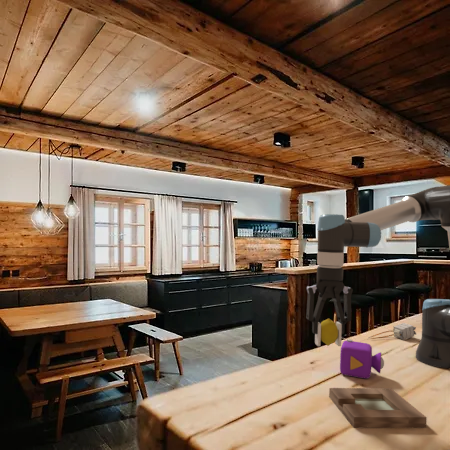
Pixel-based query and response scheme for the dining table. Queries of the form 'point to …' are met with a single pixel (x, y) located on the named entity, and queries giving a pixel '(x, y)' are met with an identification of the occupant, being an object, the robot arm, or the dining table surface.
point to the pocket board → (376, 408)
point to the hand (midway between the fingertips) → (327, 344)
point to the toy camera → (359, 359)
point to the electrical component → (401, 331)
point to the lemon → (328, 332)
